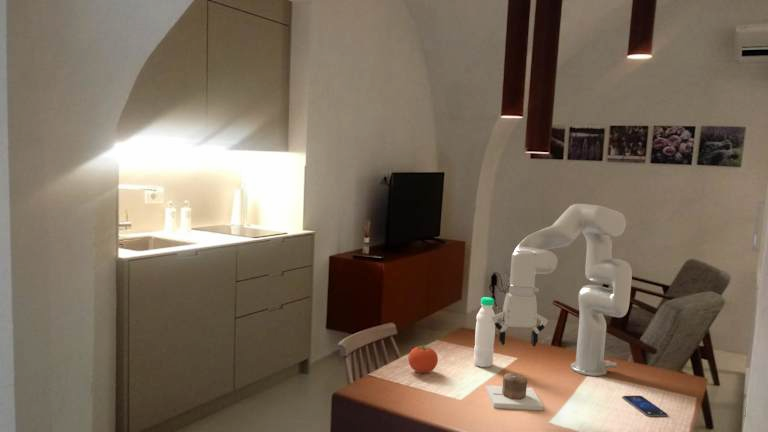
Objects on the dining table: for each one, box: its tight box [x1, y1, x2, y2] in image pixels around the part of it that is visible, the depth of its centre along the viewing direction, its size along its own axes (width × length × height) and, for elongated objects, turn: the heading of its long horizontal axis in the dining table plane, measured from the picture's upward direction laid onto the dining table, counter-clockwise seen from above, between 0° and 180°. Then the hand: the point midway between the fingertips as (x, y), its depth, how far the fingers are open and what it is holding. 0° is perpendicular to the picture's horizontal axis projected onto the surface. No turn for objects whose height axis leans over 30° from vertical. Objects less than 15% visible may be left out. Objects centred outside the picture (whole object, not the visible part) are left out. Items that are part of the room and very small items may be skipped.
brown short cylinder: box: [502, 372, 528, 400], centre depth 186 cm, size 7×7×6 cm
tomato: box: [408, 344, 439, 374], centre depth 206 cm, size 10×10×10 cm
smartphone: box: [621, 395, 669, 418], centre depth 187 cm, size 7×1×15 cm
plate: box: [485, 385, 544, 411], centre depth 186 cm, size 15×14×6 cm
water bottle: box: [472, 296, 496, 368], centre depth 216 cm, size 7×7×25 cm
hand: (517, 344), depth 185 cm, fingers open, 9 cm apart
